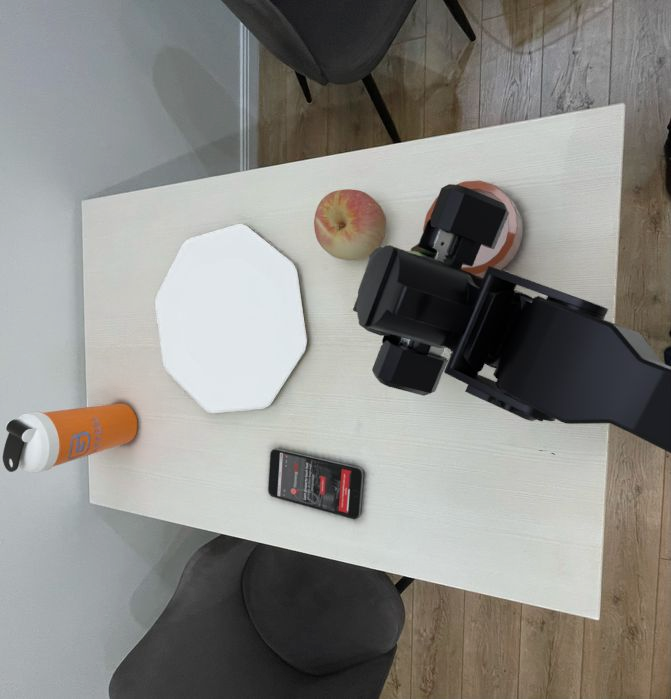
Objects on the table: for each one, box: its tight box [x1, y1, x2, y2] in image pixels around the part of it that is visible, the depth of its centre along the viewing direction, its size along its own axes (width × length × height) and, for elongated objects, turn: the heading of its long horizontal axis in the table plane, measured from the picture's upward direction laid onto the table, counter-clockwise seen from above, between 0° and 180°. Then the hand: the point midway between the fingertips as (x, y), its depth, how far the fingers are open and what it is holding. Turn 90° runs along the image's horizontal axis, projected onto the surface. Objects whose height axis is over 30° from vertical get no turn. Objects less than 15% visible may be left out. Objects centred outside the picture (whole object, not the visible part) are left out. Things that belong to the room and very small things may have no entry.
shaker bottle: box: [2, 402, 139, 474], centre depth 86 cm, size 9×9×20 cm
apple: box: [313, 188, 387, 262], centre depth 68 cm, size 9×9×8 cm
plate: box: [154, 223, 309, 414], centre depth 82 cm, size 28×28×2 cm
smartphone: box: [267, 447, 365, 520], centre depth 77 cm, size 7×1×15 cm
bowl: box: [422, 180, 524, 277], centre depth 63 cm, size 11×11×4 cm
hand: (404, 277), depth 57 cm, fingers closed on beverage can, 5 cm apart
